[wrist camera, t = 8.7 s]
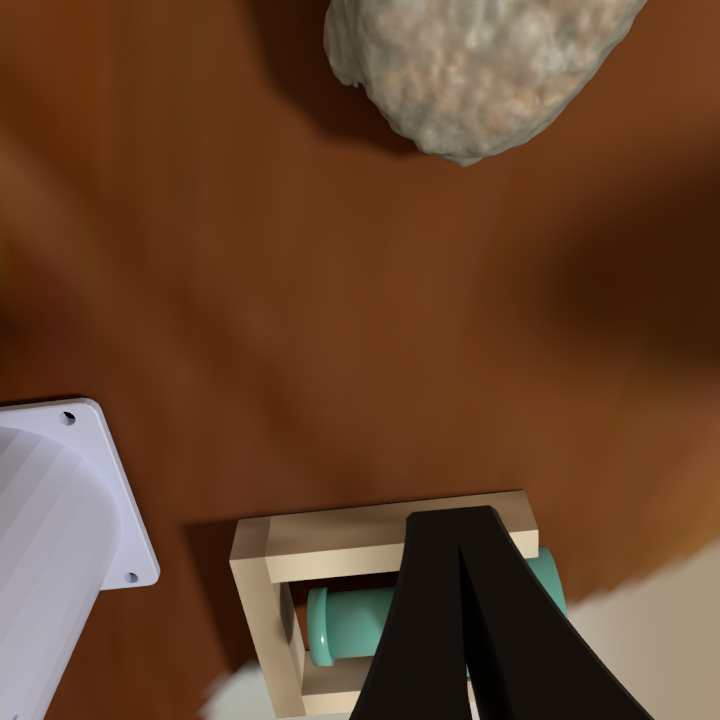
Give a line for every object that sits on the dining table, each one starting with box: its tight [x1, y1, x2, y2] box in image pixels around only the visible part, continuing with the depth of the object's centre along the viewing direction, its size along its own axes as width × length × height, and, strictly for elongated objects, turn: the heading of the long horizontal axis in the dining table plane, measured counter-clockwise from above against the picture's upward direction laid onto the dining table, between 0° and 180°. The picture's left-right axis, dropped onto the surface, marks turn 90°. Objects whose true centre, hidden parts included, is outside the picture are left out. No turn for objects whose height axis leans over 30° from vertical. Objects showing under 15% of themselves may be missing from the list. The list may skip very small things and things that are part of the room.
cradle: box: [229, 490, 538, 718], centre depth 25 cm, size 10×8×2 cm
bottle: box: [307, 546, 568, 677], centre depth 23 cm, size 4×4×8 cm
